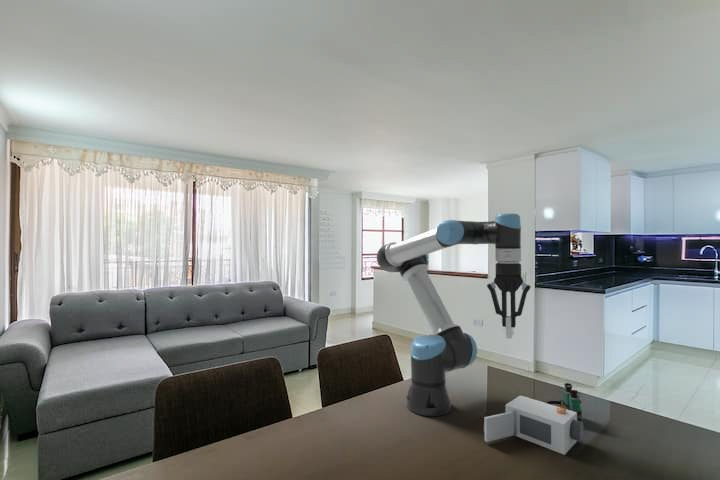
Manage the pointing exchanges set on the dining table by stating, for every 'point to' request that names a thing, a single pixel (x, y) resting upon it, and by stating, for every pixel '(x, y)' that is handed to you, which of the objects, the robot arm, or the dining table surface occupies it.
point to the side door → (500, 426)
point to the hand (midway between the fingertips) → (509, 337)
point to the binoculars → (570, 401)
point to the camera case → (546, 424)
